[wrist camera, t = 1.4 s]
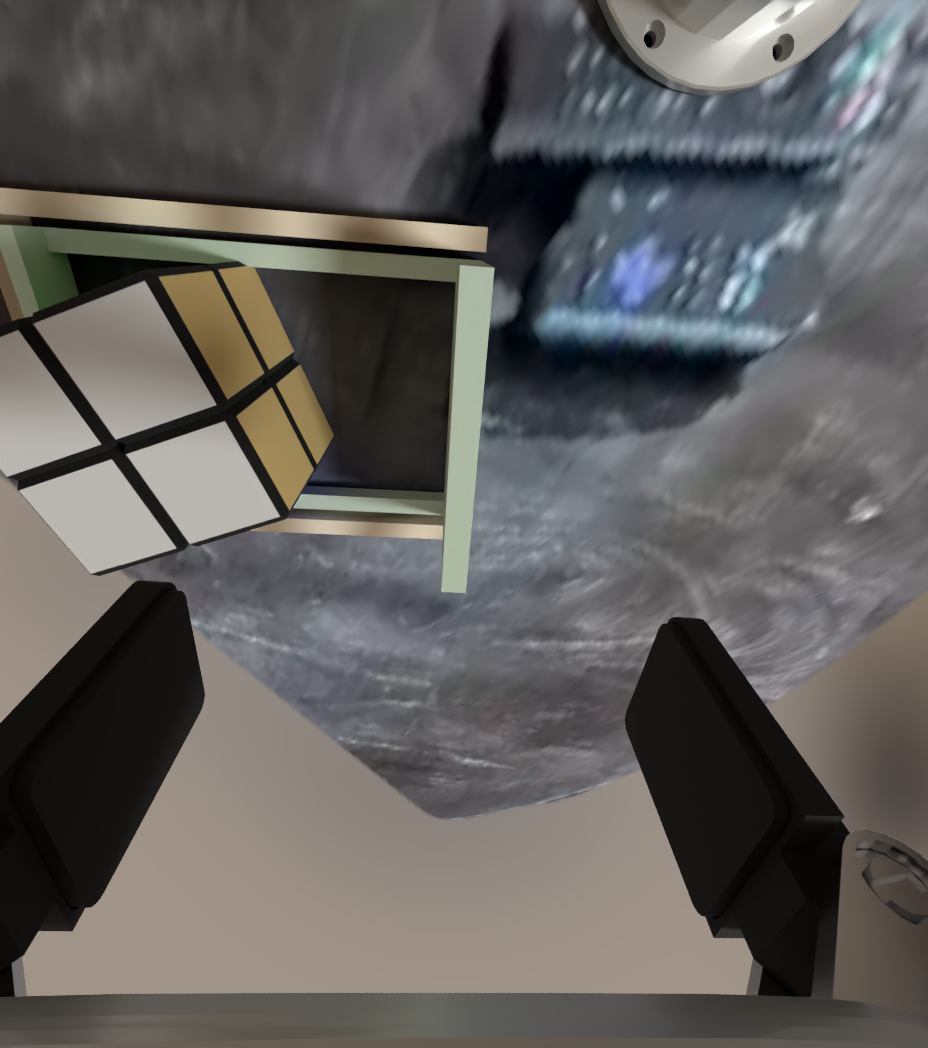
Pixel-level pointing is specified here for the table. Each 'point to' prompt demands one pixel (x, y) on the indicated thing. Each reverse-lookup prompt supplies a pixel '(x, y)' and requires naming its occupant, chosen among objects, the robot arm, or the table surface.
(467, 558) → the green frame
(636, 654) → the table surface
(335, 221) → the frame
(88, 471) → the puzzle cube
